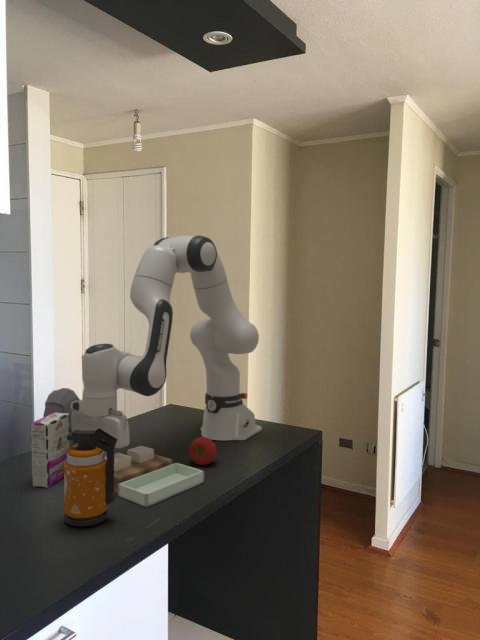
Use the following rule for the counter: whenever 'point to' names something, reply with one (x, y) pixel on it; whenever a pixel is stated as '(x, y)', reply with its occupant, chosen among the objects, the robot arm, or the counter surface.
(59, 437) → the candy bar box
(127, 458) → the tile
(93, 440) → the canister
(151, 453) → the tile
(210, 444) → the tomato
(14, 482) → the counter surface
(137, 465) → the board
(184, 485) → the tray
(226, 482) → the counter surface
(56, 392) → the small grey backpack
